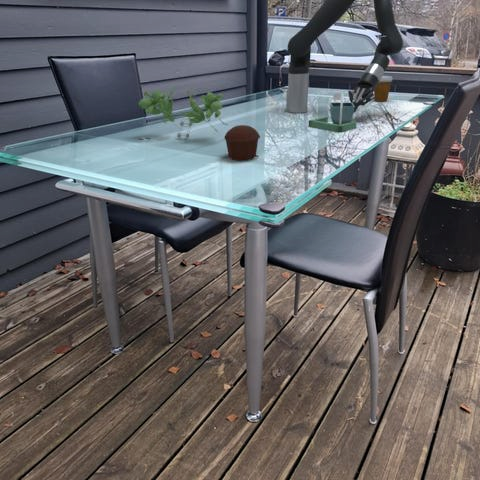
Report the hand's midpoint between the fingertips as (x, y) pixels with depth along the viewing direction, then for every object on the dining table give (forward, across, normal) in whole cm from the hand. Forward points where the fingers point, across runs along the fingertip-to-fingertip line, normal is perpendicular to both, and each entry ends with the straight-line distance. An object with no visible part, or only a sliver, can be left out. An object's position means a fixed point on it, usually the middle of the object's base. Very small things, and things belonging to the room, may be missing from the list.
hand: (351, 111), depth 191 cm
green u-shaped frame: (+12, 0, -5) cm, 13 cm away
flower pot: (+10, +2, -3) cm, 10 cm away
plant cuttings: (+46, -31, -40) cm, 69 cm away
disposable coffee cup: (-33, -20, +40) cm, 55 cm away
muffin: (+49, +6, -43) cm, 66 cm away
